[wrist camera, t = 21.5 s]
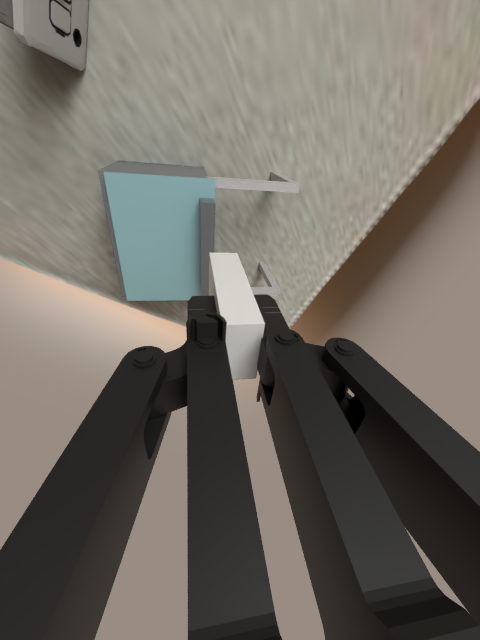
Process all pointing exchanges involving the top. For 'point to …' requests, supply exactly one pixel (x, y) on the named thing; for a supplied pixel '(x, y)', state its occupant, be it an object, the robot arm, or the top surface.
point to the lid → (162, 233)
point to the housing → (276, 184)
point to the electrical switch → (50, 27)
